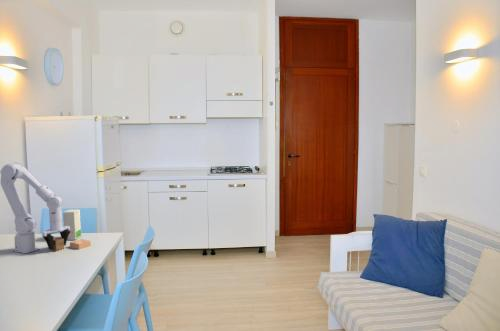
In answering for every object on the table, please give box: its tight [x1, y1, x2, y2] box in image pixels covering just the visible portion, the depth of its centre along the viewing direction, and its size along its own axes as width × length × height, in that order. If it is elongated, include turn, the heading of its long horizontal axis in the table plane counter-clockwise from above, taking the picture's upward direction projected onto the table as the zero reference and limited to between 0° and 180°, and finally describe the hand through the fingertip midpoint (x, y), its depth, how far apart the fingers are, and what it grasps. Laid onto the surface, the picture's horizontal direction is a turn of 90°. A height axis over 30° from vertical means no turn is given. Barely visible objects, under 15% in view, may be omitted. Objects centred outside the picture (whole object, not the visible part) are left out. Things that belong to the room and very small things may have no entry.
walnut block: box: [50, 237, 65, 252], centre depth 211 cm, size 4×4×6 cm
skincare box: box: [62, 209, 82, 241], centre depth 231 cm, size 8×7×16 cm
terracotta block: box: [69, 238, 92, 250], centre depth 216 cm, size 7×7×3 cm
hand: (57, 246), depth 211 cm, fingers open, 7 cm apart
